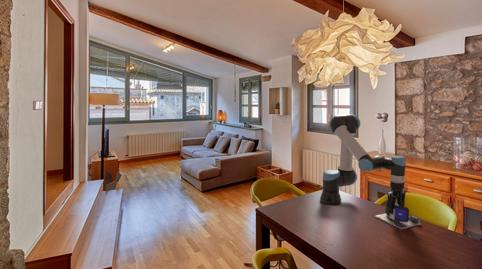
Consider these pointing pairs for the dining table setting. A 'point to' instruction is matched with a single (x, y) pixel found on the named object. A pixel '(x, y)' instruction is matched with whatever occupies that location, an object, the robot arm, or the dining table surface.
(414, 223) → the white plate with bar
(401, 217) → the small display screen
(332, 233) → the dining table surface
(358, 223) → the dining table surface
